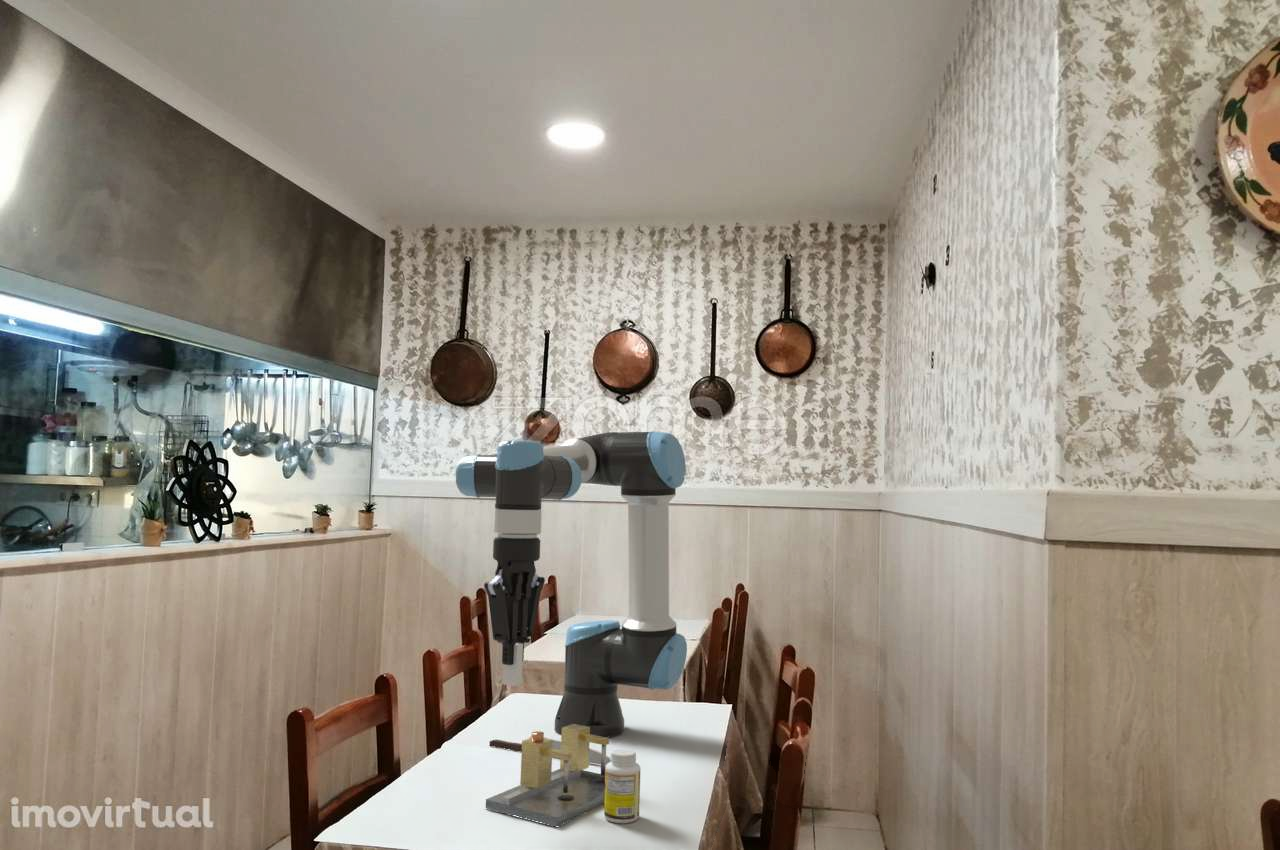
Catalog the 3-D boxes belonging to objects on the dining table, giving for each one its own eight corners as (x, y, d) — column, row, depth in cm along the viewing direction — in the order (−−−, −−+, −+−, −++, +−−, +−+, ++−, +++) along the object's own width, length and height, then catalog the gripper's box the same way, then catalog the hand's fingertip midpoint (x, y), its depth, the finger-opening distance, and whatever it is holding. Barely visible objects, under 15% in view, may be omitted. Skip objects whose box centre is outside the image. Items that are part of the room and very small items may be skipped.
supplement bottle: (619, 809, 143) (622, 744, 144) (646, 818, 140) (648, 751, 141) (596, 818, 139) (598, 751, 140) (623, 827, 136) (625, 758, 136)
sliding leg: (533, 780, 149) (535, 729, 150) (574, 789, 145) (576, 737, 145) (520, 785, 146) (522, 733, 147) (561, 795, 142) (564, 741, 142)
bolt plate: (565, 774, 161) (565, 760, 161) (631, 789, 153) (631, 774, 154) (485, 809, 142) (486, 792, 142) (556, 827, 135) (557, 810, 135)
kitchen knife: (489, 730, 178) (622, 749, 165) (493, 729, 179) (625, 747, 166) (489, 752, 177) (622, 772, 164) (492, 750, 178) (625, 771, 165)
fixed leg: (571, 764, 159) (573, 723, 159) (611, 773, 154) (612, 731, 155) (560, 769, 156) (561, 727, 156) (600, 778, 151) (601, 735, 152)
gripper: (523, 533, 151) (518, 674, 149) (472, 536, 140) (466, 688, 138) (559, 535, 147) (555, 680, 145) (510, 538, 136) (504, 695, 134)
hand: (512, 684), depth 142 cm, fingers closed
